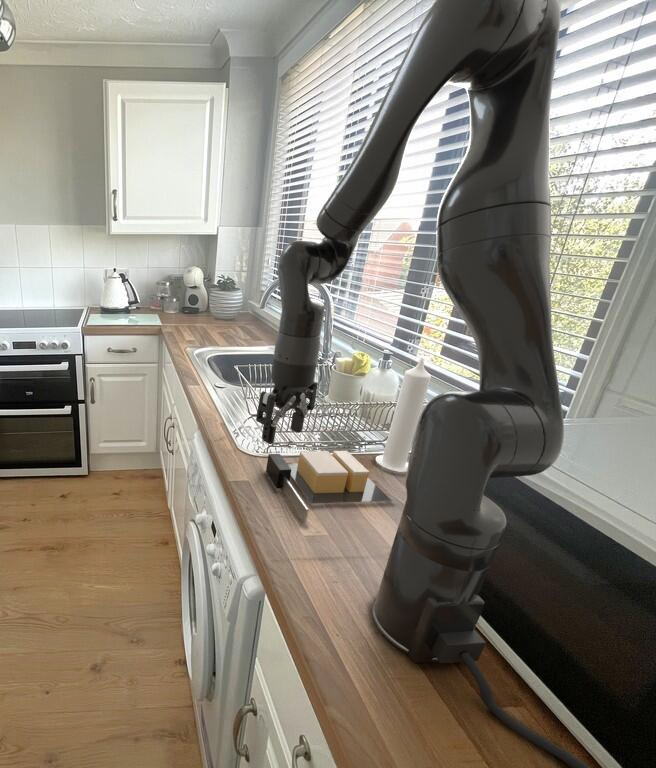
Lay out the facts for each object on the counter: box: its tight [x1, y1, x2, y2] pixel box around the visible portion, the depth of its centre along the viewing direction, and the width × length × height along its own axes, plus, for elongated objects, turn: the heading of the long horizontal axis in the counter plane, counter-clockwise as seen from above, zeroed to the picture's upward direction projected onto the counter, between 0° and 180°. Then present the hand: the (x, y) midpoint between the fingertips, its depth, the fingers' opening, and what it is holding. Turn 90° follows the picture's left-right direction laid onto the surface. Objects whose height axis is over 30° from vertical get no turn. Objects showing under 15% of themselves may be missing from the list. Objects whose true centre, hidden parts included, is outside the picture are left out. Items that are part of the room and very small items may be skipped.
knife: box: [265, 453, 309, 523], centre depth 79 cm, size 16×2×5 cm, turn 5°
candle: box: [375, 357, 432, 473], centre depth 87 cm, size 7×7×25 cm
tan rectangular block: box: [297, 450, 348, 493], centre depth 83 cm, size 8×6×5 cm
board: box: [286, 462, 393, 505], centre depth 84 cm, size 14×16×1 cm
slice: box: [331, 450, 370, 492], centre depth 83 cm, size 8×3×5 cm, turn 5°
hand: (282, 436), depth 81 cm, fingers open, 8 cm apart
